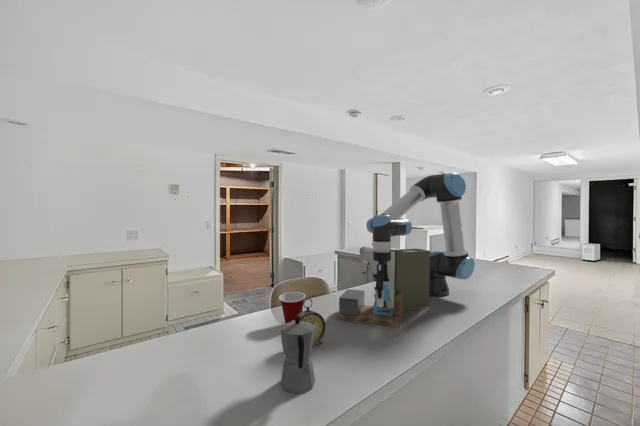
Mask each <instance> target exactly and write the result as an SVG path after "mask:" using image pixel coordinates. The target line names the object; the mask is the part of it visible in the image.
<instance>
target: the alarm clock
mask: <svg viewBox="0 0 640 426" xmlns="http://www.w3.org/2000/svg"><path fill="white" fill-rule="evenodd" d="M308 300H309V301H310V302H311V304H310V305H309V306H305V303H306V301H308ZM312 306H313V300H312V299H311V298H305V299H304V304H303V308H305V310H302V312H301V313H299V314H298V315H297V316H300V317H301V318H300V321H302V322H309V323H311V324H312V325H314V326H315V330H314V337H313V345H312V347H313V346H315V345H317V344H318V343H320V345H323V342H322V341H321V340H322V339H323V337H324V335H325V333H326V328H327V327H326V320H325V319H324V317H323V315H321V314H320V313H318V312H316V311H315V310H311V309H310V308H311V307H312Z"/></svg>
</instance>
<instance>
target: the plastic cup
mask: <svg viewBox="0 0 640 426" xmlns="http://www.w3.org/2000/svg"><path fill="white" fill-rule="evenodd" d="M306 297H307V296H306V294H305V293H303V292H300V291H290V292H284V293H282V294H280V295H279V297H278V299H279V301H280V305H281V307H282V309H281V310H282V312H283V314H282V315H283V318H284V324H285V323H290V322H291V321H292V320H295V318H294V317H295V316H297V315H298V314H299V313H301V312H303V311H304V310H303V309H304V305H305V303H304V301H305V300H306ZM303 304H304V305H303Z"/></svg>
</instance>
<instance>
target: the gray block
mask: <svg viewBox="0 0 640 426" xmlns="http://www.w3.org/2000/svg"><path fill="white" fill-rule="evenodd" d="M338 301H339V303H338V306H339V307H338V309H339V310H338V312H339V314H342V315H350V316H358V315H359V314H360V312H361V311H362V309H363V308H364V306H365V290H360V289H349V288H347V289H346V290H345V291H344V293H342V294H341V295H340V296H339V300H338Z"/></svg>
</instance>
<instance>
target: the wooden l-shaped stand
mask: <svg viewBox="0 0 640 426" xmlns="http://www.w3.org/2000/svg"><path fill="white" fill-rule="evenodd" d="M373 306H374V305H365V306H364V308H363V309H362V311H361V312H360V314H359V315H358V316H350V315H342V314H339V311H338V312H337V314H336V318H335V319H336V321H337V320H339V321H344V322H345V321H346V322H353V323H354V322H355V323H362V324H369V325H370V324H371V325H379V326H386V327H387V326H388V327H396V328H401V324H402V320H403V317H404V316H403V314H404V312H403V291H398V293H397V296H396V299H395V309H394V308H391V310H392V312H393V316H385V315H378V314H373V312H372V309H373ZM385 308H386V307H382V306H379V307H378V309H385ZM381 312H383V313H390V311H381ZM390 314H391V313H390Z"/></svg>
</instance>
